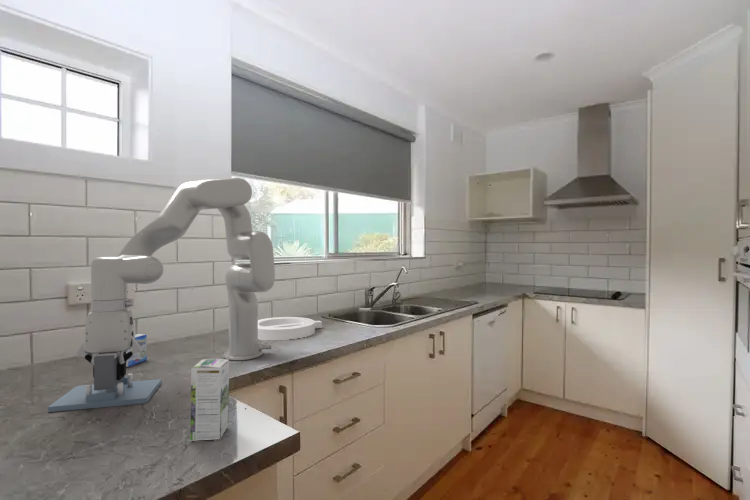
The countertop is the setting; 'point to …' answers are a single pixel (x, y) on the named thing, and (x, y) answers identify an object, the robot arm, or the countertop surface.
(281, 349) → the countertop surface
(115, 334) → the robot arm
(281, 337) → the ring with crossbar
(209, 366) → the syrup box
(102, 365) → the block
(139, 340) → the medicine box
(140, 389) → the blue fixture board
